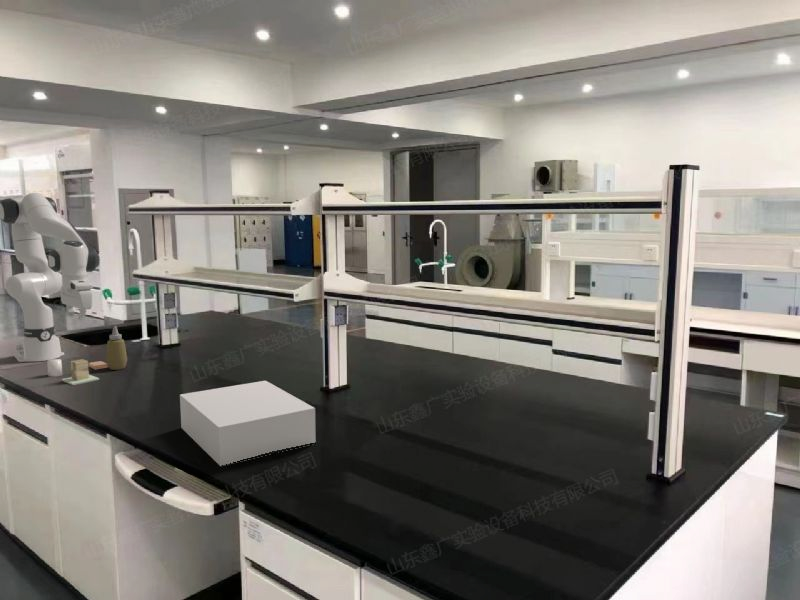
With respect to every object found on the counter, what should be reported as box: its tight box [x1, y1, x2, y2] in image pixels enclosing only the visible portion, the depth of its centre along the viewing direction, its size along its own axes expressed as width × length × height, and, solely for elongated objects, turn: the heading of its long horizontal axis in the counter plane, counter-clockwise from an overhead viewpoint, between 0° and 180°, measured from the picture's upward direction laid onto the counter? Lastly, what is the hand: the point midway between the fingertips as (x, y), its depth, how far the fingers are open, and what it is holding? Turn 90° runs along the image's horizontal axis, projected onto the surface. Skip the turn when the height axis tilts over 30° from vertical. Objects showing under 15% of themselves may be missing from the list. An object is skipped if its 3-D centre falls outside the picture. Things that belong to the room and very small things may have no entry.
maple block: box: [70, 358, 90, 381], centre depth 240 cm, size 4×4×7 cm
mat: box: [61, 374, 100, 386], centre depth 240 cm, size 10×10×1 cm
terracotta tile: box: [88, 360, 108, 370], centre depth 261 cm, size 7×5×2 cm
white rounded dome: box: [46, 358, 63, 378], centre depth 248 cm, size 5×5×6 cm
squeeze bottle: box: [106, 325, 128, 371], centre depth 257 cm, size 8×8×18 cm
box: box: [179, 380, 317, 467], centre depth 180 cm, size 28×35×11 cm
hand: (76, 317), depth 242 cm, fingers open, 8 cm apart
